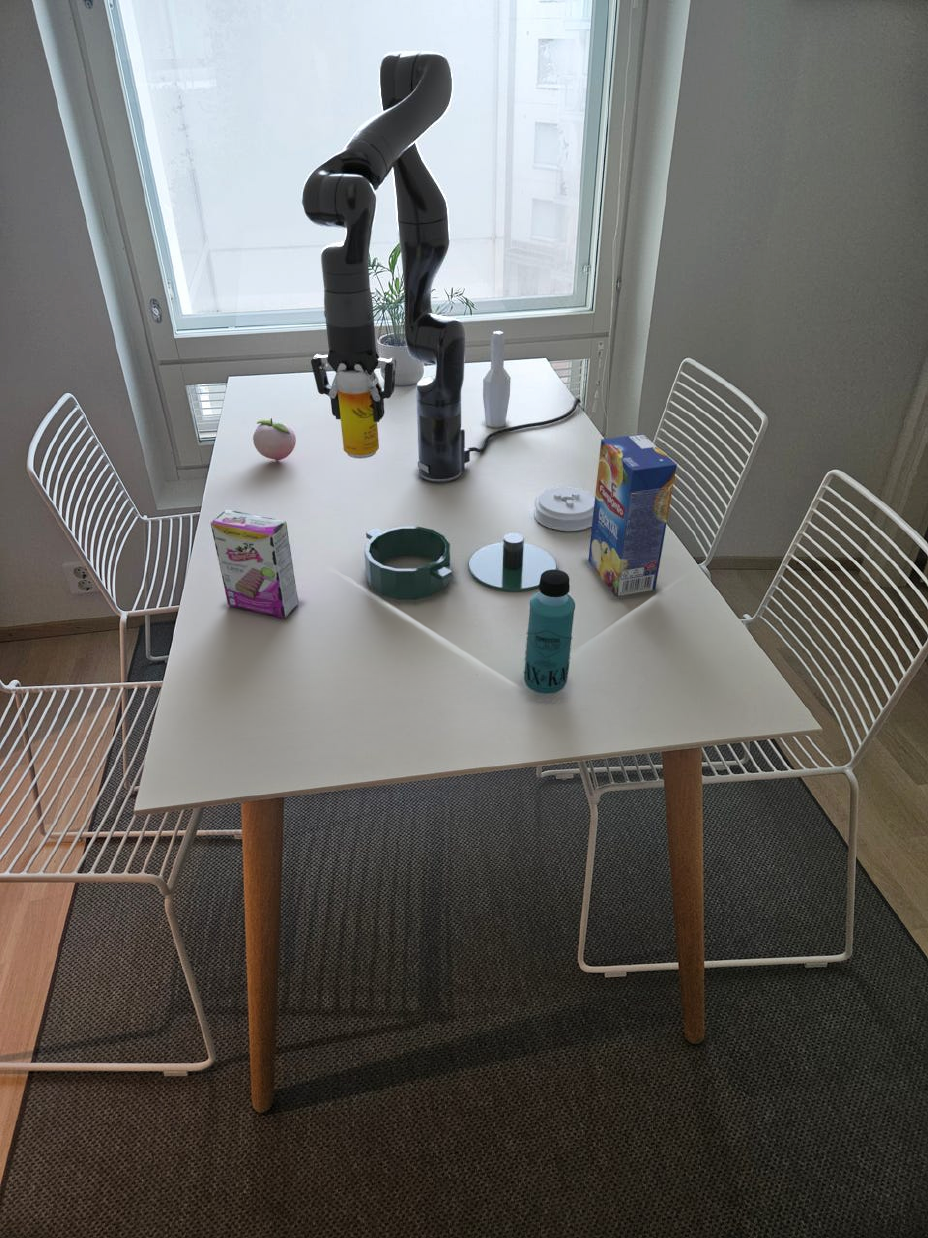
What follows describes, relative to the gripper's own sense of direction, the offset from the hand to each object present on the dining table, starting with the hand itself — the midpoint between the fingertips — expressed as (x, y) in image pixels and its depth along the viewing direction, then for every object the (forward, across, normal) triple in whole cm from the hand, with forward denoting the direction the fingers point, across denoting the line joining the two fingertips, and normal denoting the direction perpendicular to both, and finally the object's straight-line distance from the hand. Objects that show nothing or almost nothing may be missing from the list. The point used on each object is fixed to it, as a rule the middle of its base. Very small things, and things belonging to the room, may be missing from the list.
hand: (358, 418), depth 136 cm
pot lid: (+25, -28, +4) cm, 37 cm away
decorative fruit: (+25, +30, -31) cm, 50 cm away
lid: (+26, -36, -16) cm, 47 cm away
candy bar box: (+25, +12, +22) cm, 36 cm away
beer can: (+6, 0, 0) cm, 6 cm away
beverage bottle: (+25, -36, +34) cm, 56 cm away
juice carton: (+25, -47, +2) cm, 53 cm away
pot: (+25, -10, +10) cm, 29 cm away
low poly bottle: (+26, -15, -60) cm, 67 cm away
